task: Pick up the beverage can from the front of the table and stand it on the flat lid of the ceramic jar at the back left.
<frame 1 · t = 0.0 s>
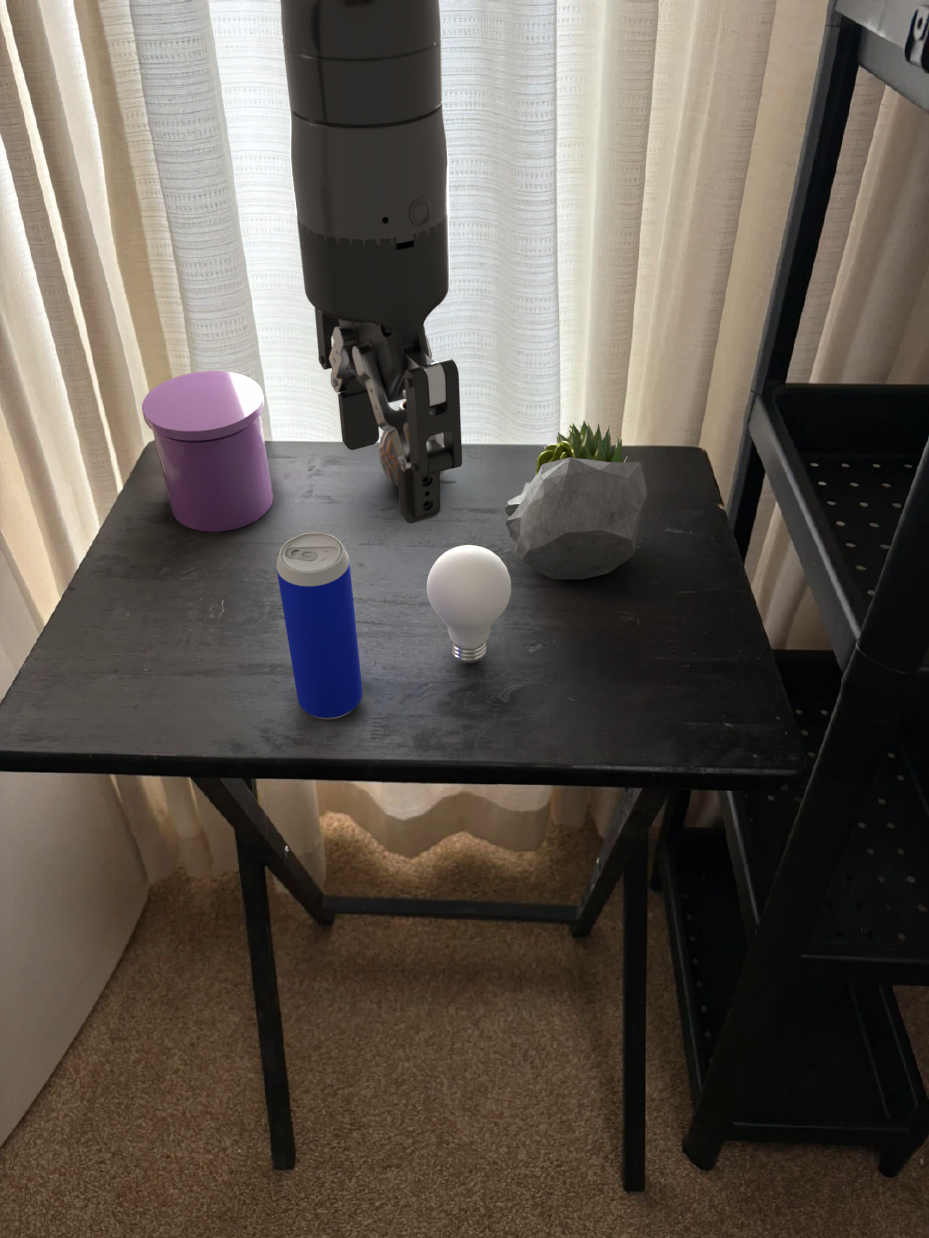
hand: (389, 479, 61), 25 cm above the table, tool pointing down, fingers open, 8 cm apart
light bulb: (469, 659, 86), on the table
potted plant: (567, 550, 97), on the table
beverage can: (331, 701, 83), on the table
vase: (415, 482, 106), on the table
jar: (222, 501, 103), on the table
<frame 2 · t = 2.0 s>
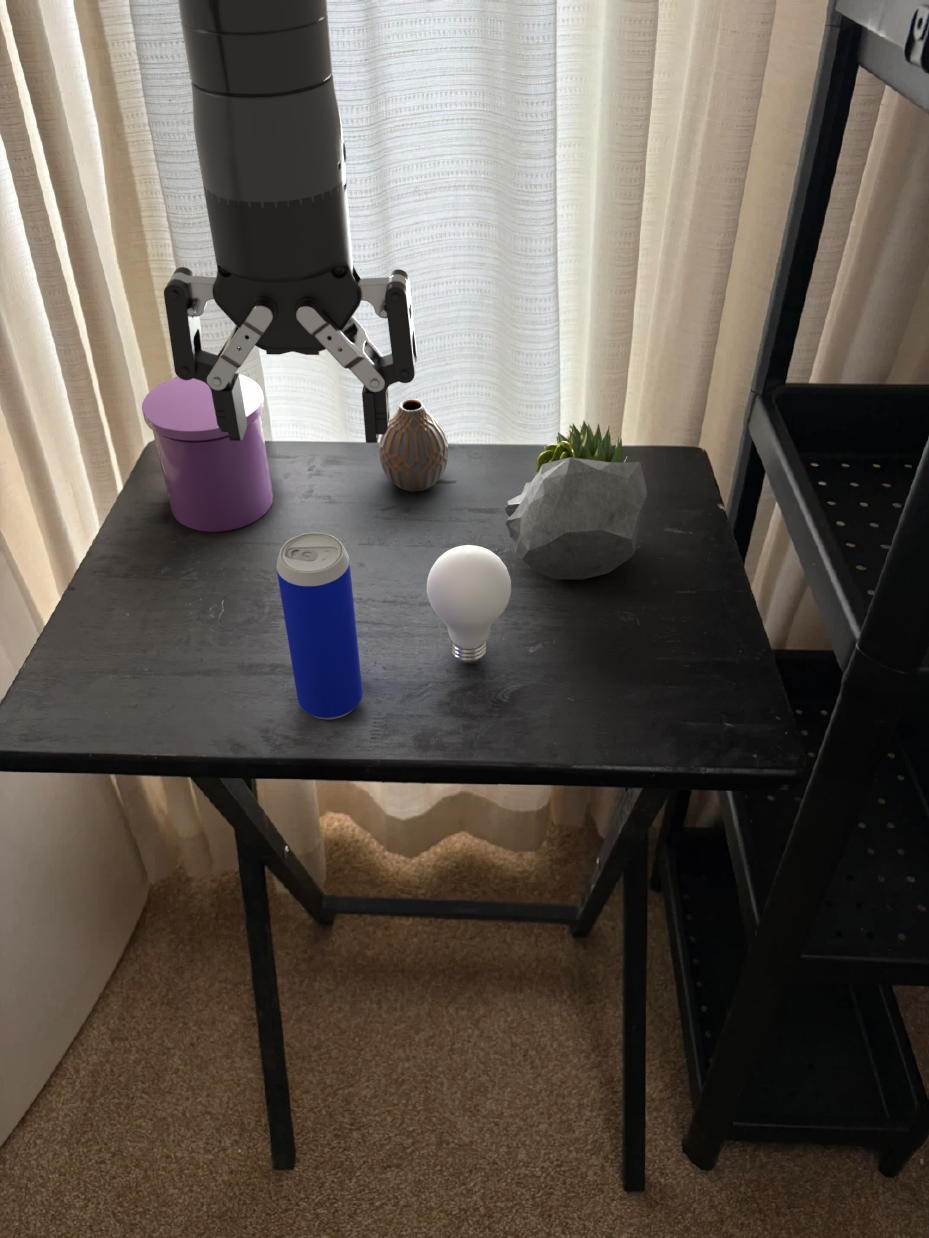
hand: (306, 435, 65), 25 cm above the table, tool pointing down, fingers open, 8 cm apart
nothing on the table moved.
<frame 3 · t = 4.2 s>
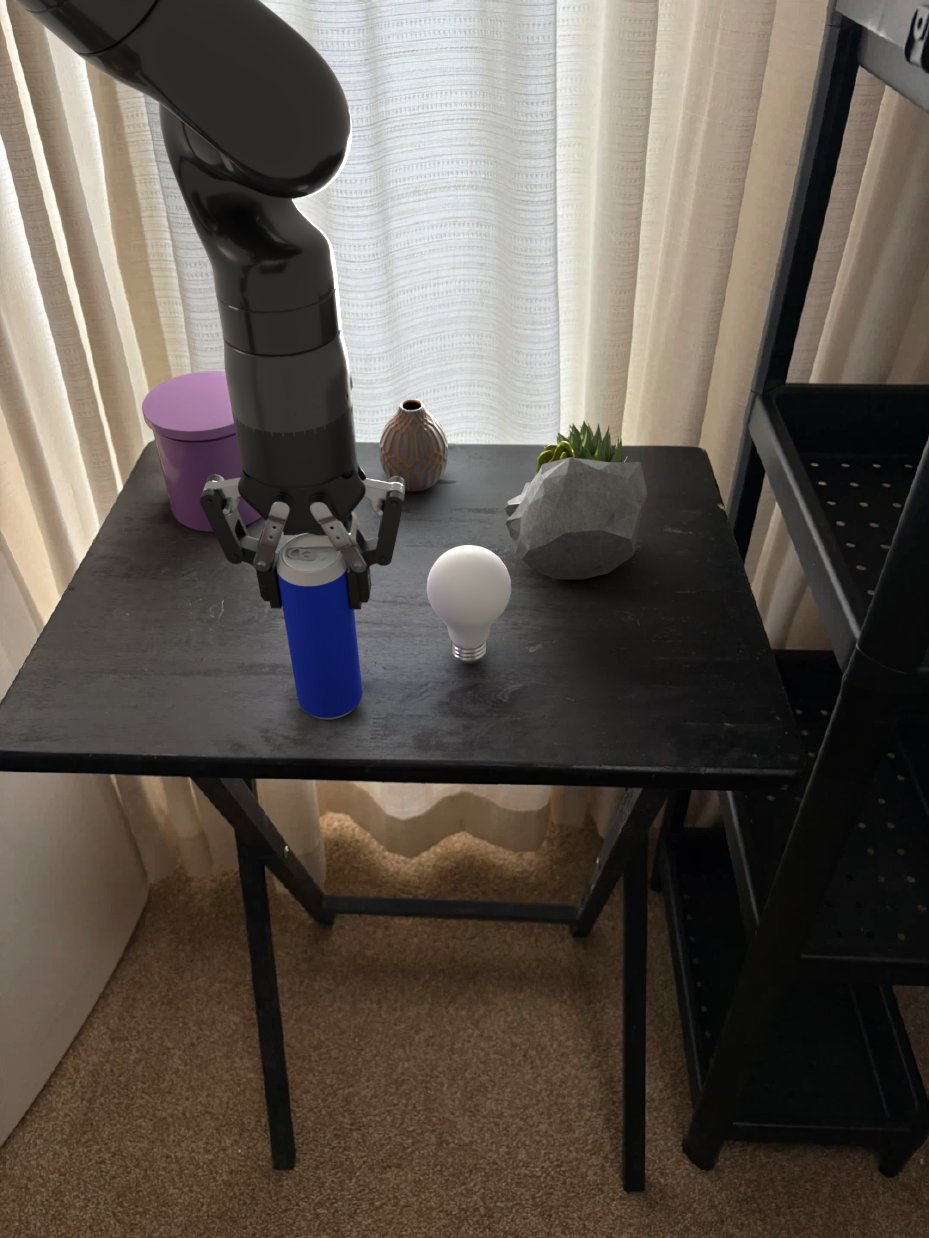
hand: (318, 601, 76), 10 cm above the table, tool pointing down, fingers closed on beverage can, 5 cm apart
beverage can: (331, 701, 83), on the table, touching gripper
everything else where it was.
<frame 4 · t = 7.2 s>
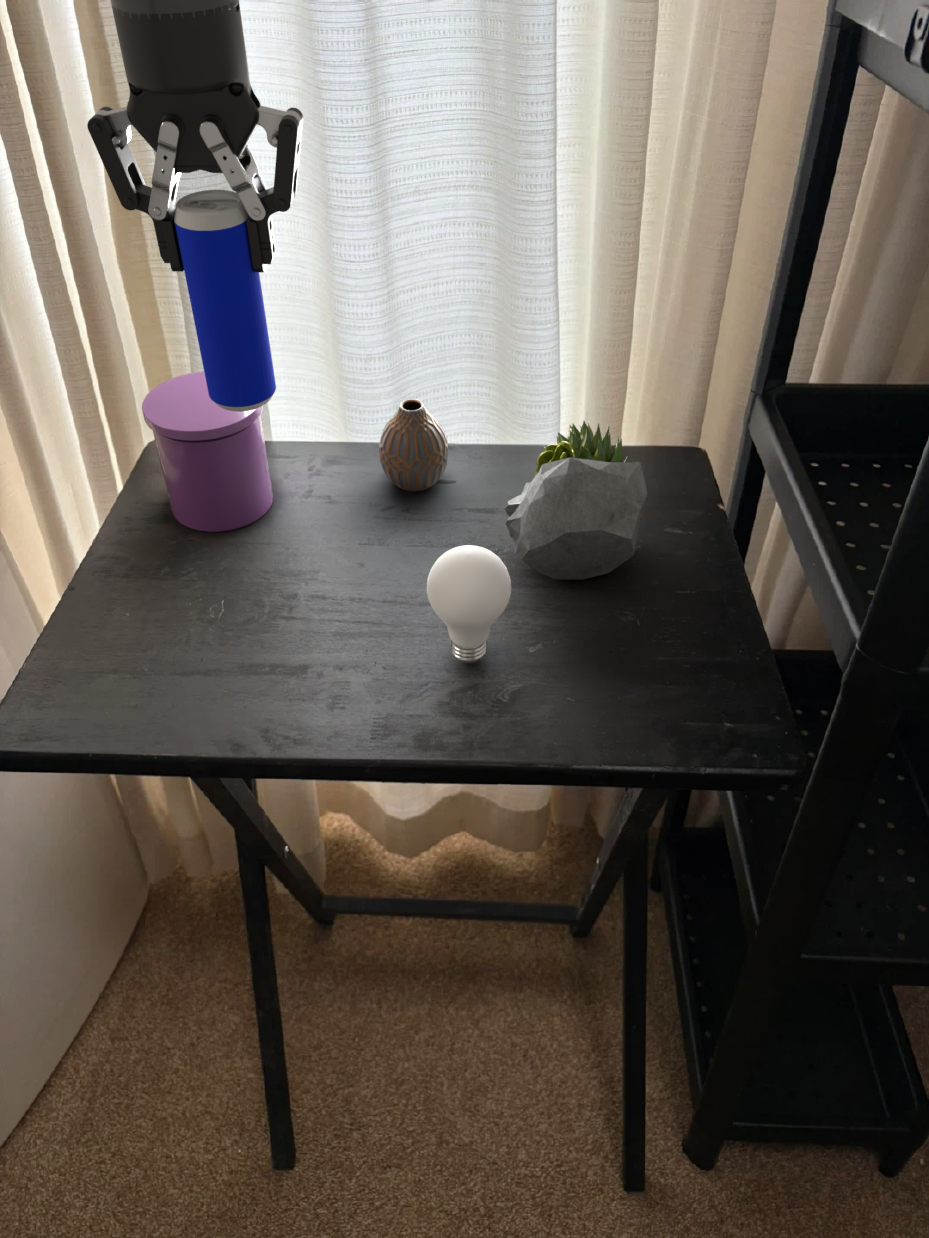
hand: (221, 266, 73), 30 cm above the table, tool pointing down, fingers closed on beverage can, 5 cm apart
beverage can: (244, 399, 80), point 19 cm above the table, touching gripper
everything else where it was.
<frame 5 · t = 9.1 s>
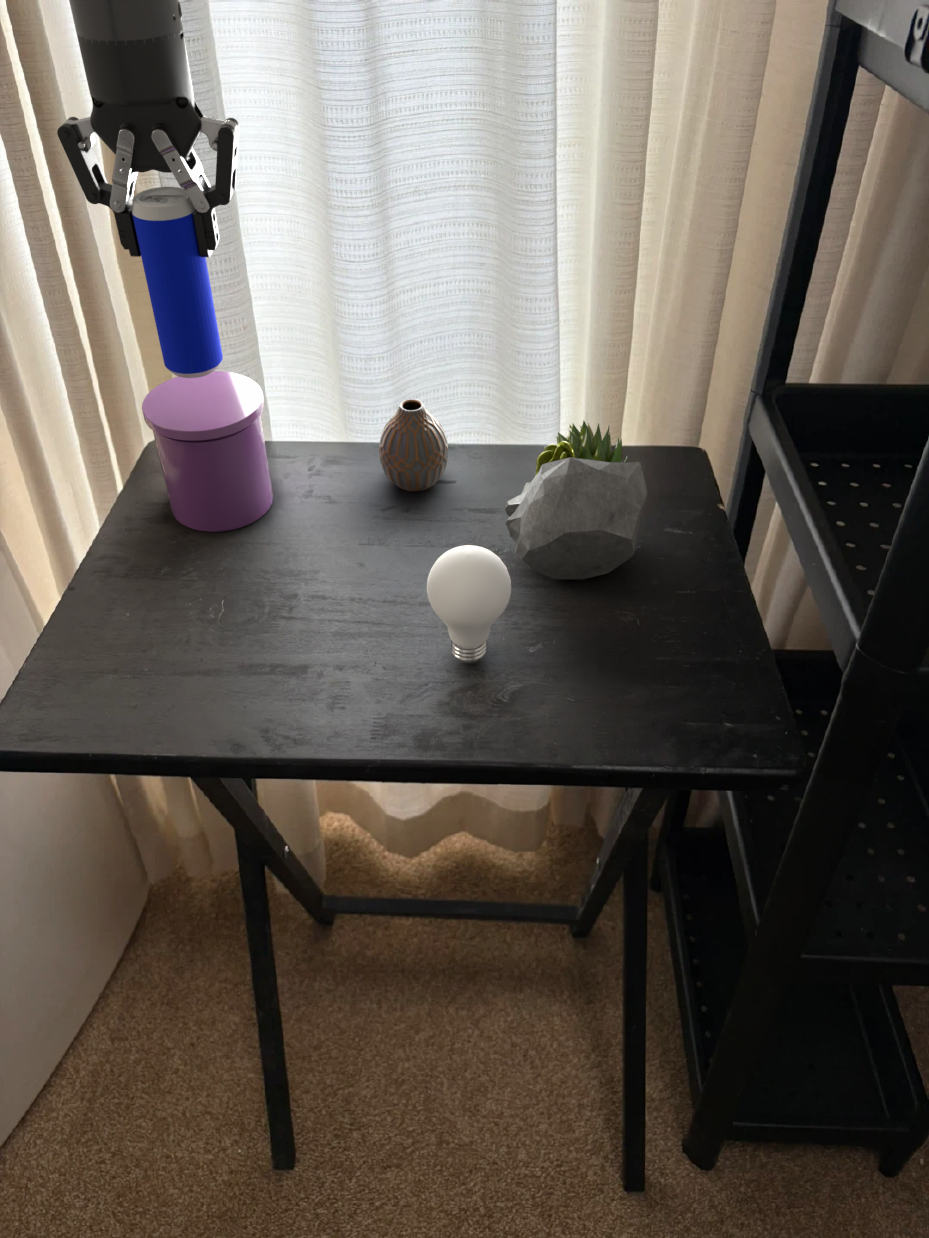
hand: (173, 252, 86), 25 cm above the table, tool pointing down, fingers closed on beverage can, 5 cm apart
beverage can: (195, 368, 93), point 15 cm above the table, touching gripper
everything else where it was.
when the fingers open (22 cm above the table, at t = 10.4 s): beverage can stays where it is, resting on jar.
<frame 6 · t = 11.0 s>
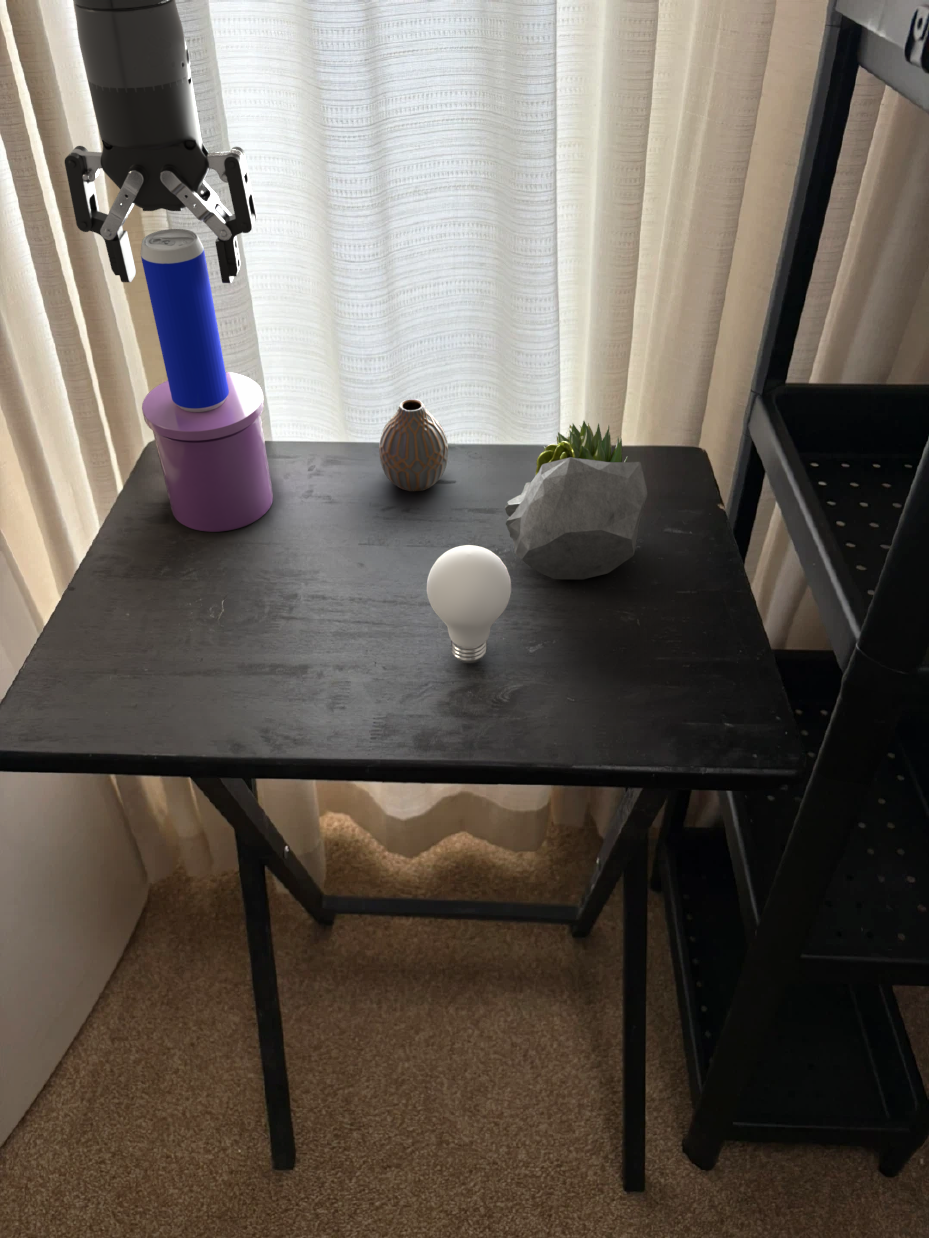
hand: (179, 279, 88), 23 cm above the table, tool pointing down, fingers open, 8 cm apart
beverage can: (201, 402, 95), point 11 cm above the table, touching jar
everything else where it was.
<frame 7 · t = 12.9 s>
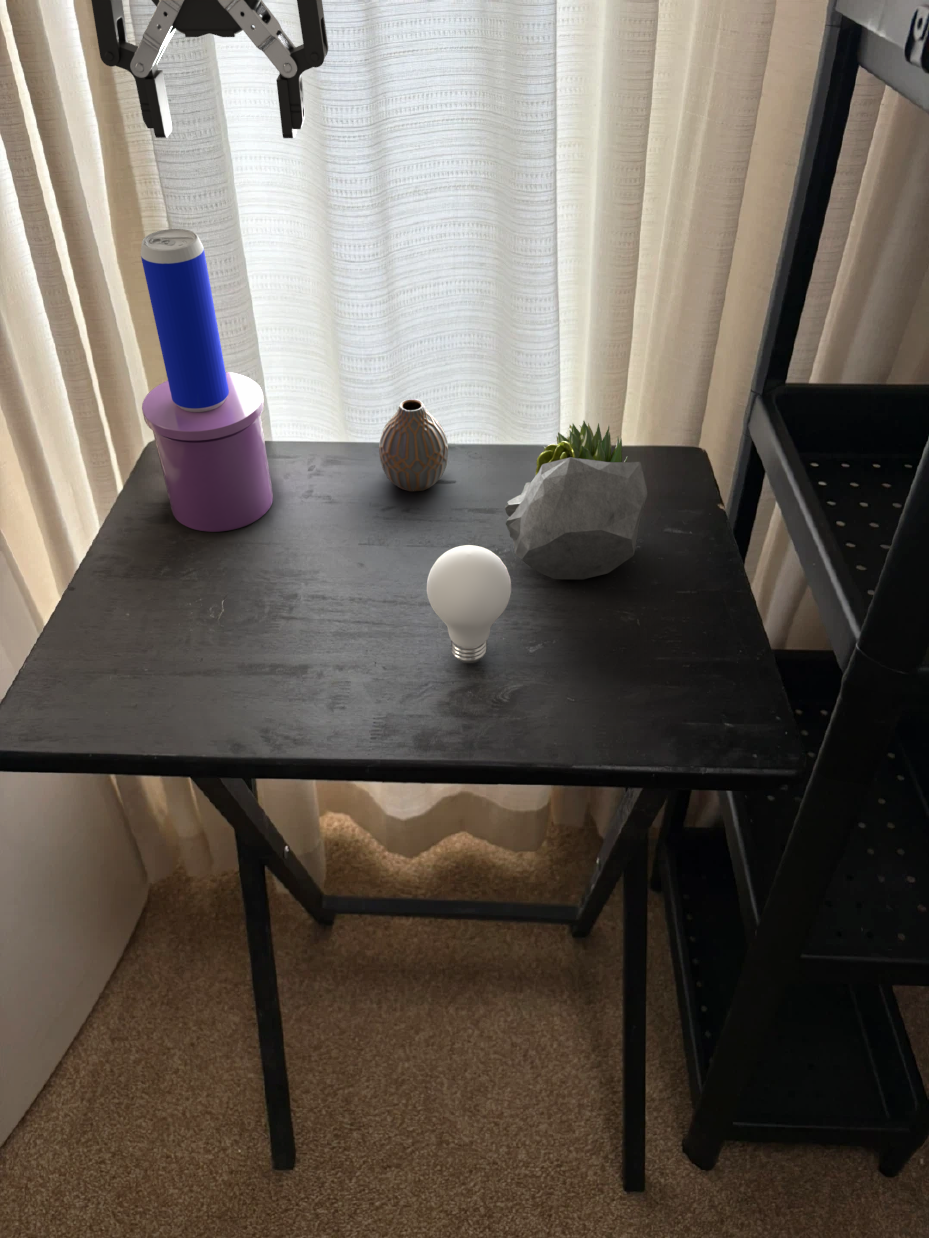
hand: (227, 135, 70), 38 cm above the table, tool pointing down, fingers open, 8 cm apart
nothing on the table moved.
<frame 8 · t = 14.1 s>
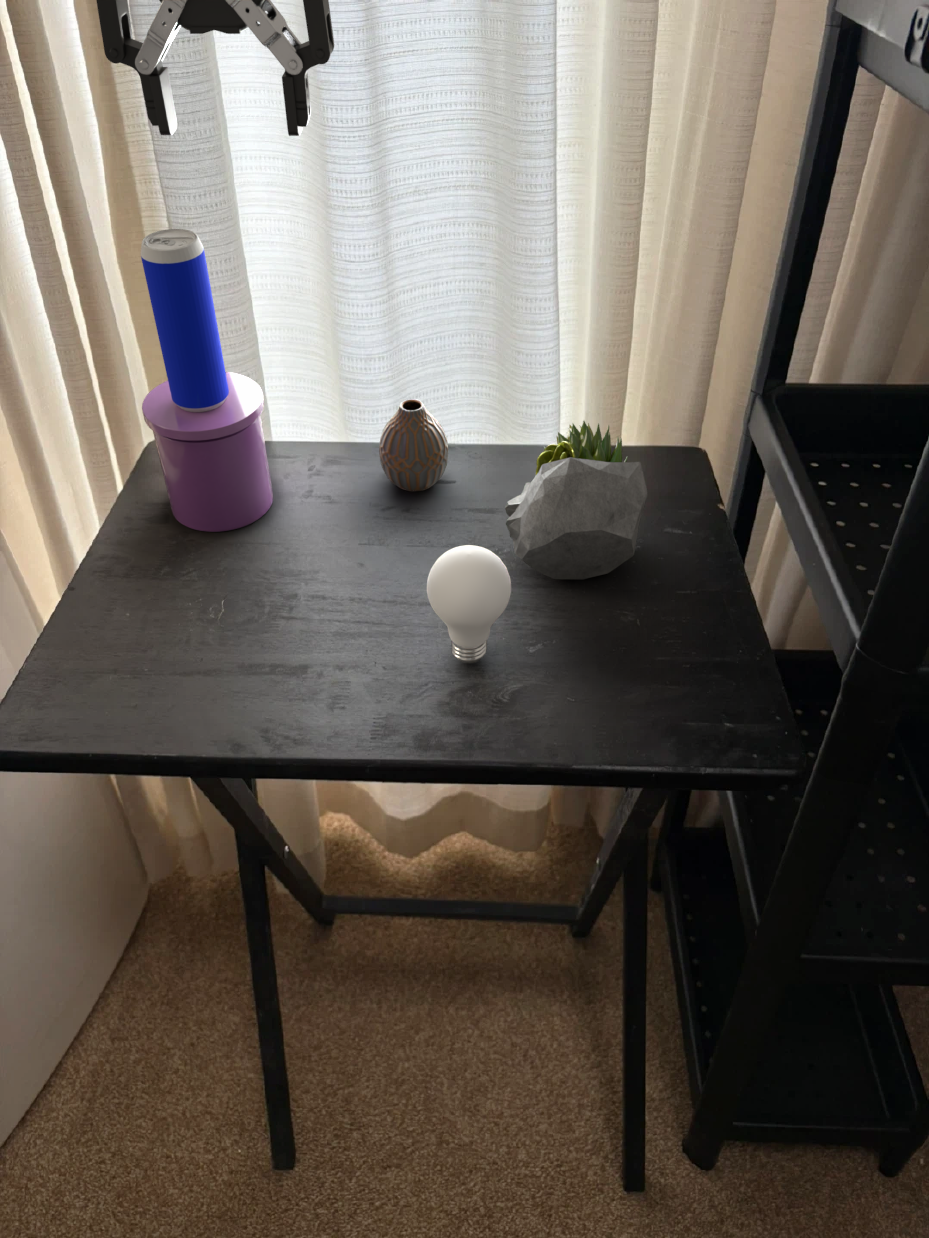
hand: (233, 132, 69), 38 cm above the table, tool pointing down, fingers open, 8 cm apart
nothing on the table moved.
at the end: beverage can 0.1 cm off-centre on the jar, point 11.3 cm above the jar's base; beverage can tilted 0°; the gripper is holding nothing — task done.
